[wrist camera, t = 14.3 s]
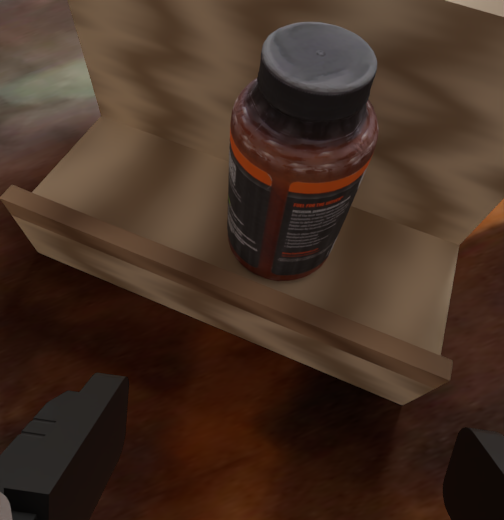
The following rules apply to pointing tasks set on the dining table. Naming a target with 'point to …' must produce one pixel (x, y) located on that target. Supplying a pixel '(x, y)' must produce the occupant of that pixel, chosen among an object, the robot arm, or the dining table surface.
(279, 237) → the supplement bottle
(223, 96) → the board
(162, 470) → the dining table surface
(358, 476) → the dining table surface
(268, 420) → the dining table surface
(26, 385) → the dining table surface
